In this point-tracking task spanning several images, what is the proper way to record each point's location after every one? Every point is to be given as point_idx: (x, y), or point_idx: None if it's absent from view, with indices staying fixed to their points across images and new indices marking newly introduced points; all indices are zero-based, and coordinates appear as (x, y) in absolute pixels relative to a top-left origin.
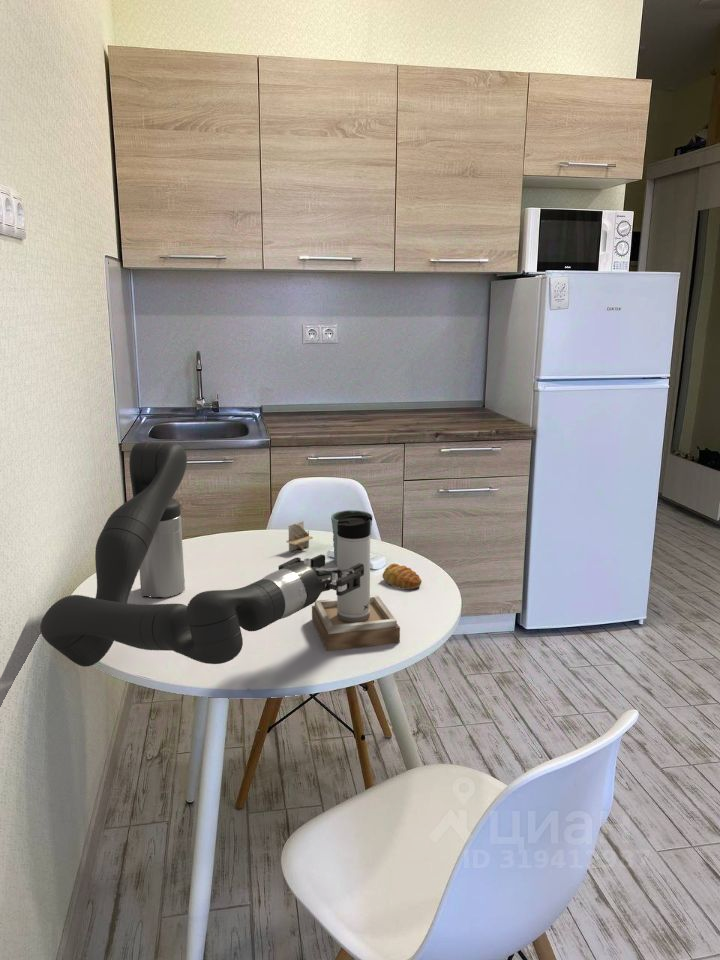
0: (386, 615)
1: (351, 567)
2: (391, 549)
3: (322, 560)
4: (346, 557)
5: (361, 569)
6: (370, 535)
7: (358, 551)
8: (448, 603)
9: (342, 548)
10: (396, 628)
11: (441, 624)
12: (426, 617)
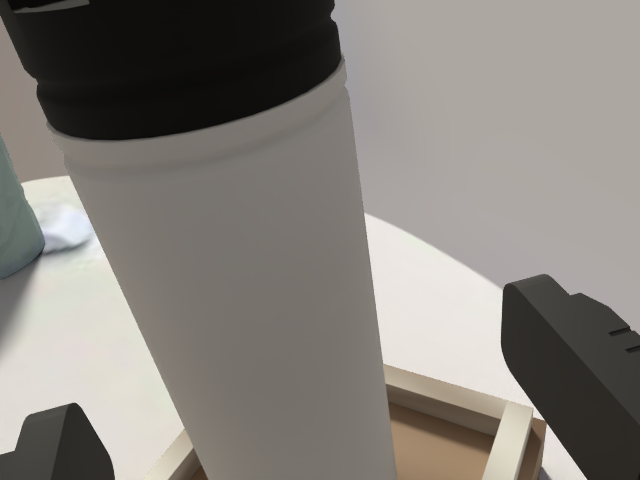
0: (444, 405)
1: (626, 397)
2: (61, 182)
3: (85, 467)
4: (273, 292)
5: (637, 336)
6: (12, 164)
7: (345, 193)
8: (376, 226)
9: (210, 239)
10: (542, 436)
11: (480, 293)
12: (411, 297)
